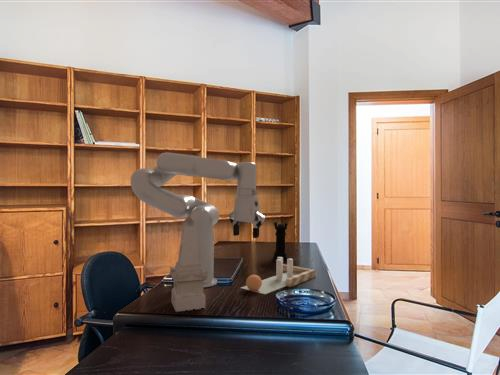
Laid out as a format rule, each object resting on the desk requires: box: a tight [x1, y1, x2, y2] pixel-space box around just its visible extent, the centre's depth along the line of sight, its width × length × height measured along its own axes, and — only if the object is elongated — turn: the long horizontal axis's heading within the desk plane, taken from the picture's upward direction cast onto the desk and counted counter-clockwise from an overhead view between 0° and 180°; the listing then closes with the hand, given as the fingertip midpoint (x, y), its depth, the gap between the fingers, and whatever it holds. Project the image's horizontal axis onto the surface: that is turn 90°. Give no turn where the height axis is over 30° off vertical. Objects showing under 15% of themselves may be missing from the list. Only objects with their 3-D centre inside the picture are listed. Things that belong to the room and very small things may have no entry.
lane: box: [240, 272, 298, 295], centre depth 147 cm, size 34×12×1 cm, turn 141°
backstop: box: [283, 263, 317, 288], centre depth 153 cm, size 21×18×3 cm
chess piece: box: [272, 221, 289, 262], centre depth 190 cm, size 8×8×20 cm
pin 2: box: [286, 258, 294, 278], centre depth 149 cm, size 2×2×9 cm
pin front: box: [275, 259, 282, 282], centre depth 147 cm, size 2×2×9 cm
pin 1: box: [277, 257, 284, 278], centre depth 152 cm, size 2×2×9 cm
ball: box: [245, 274, 263, 292], centre depth 134 cm, size 6×6×6 cm
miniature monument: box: [169, 216, 207, 312], centre depth 117 cm, size 10×10×30 cm
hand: (245, 236), depth 140 cm, fingers open, 9 cm apart
